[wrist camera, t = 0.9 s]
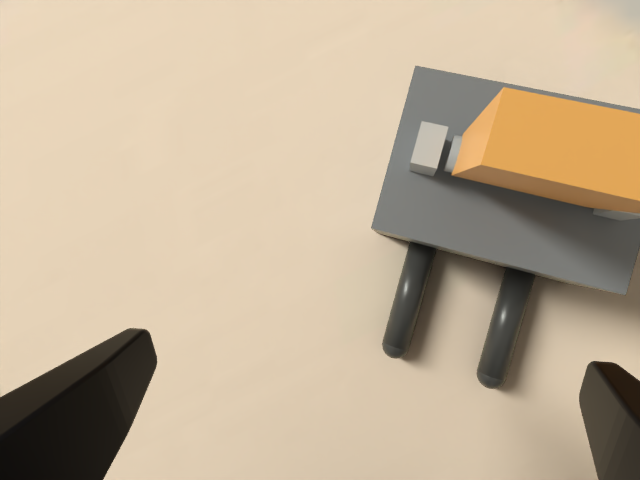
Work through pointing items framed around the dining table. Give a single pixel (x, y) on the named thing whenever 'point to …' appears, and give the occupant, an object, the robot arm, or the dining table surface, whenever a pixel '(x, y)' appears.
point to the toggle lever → (553, 150)
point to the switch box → (487, 220)
